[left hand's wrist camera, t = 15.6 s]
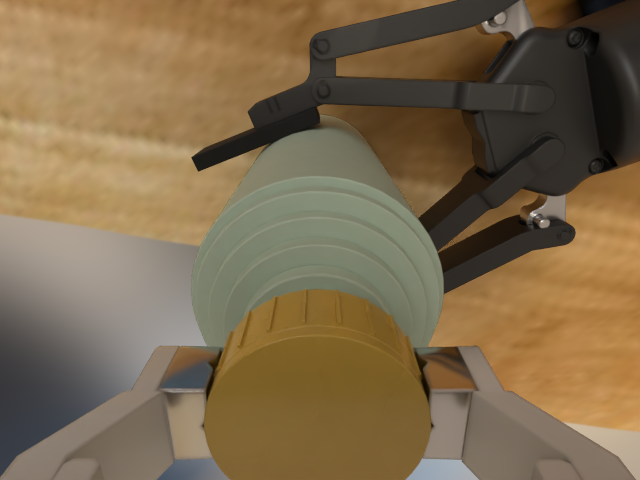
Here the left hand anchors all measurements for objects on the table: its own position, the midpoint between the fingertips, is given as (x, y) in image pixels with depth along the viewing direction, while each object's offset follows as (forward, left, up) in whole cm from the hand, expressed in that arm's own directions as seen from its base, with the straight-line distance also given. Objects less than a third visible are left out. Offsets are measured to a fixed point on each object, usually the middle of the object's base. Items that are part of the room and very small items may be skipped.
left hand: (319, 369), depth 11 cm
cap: (0, 0, +2) cm, 2 cm away
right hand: (-5, +1, -15) cm, 15 cm away
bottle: (0, 0, -21) cm, 21 cm away
